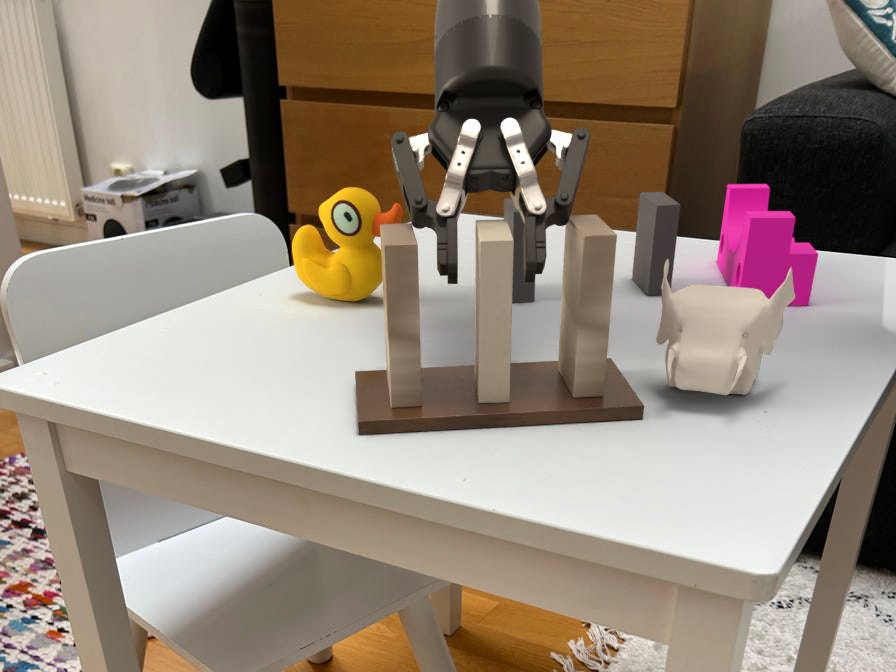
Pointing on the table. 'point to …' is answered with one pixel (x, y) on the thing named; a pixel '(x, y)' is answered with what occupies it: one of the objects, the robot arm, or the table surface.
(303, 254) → the duckling
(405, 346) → the book rack
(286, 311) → the table surface
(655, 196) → the dark grey upright posts
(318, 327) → the table surface
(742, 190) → the toy block
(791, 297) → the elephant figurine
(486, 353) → the beige rectangular block
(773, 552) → the table surface
